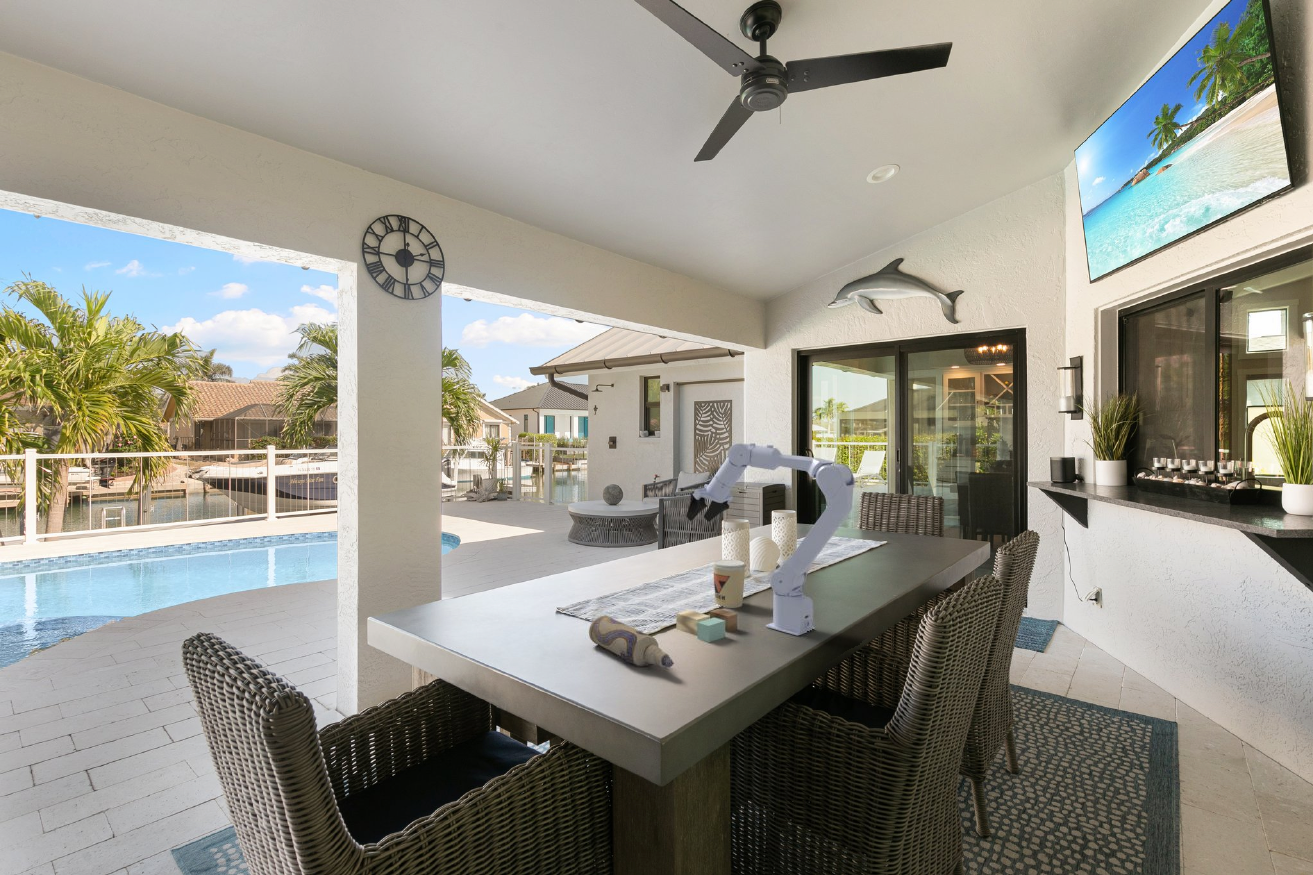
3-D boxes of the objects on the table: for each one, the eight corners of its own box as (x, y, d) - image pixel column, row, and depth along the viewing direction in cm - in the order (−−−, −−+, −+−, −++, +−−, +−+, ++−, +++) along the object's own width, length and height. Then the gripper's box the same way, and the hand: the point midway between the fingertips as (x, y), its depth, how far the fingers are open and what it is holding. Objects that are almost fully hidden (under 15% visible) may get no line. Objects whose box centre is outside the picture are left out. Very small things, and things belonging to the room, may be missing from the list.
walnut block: (737, 629, 149) (737, 613, 149) (728, 632, 147) (728, 616, 147) (718, 624, 154) (718, 608, 154) (709, 627, 151) (709, 611, 151)
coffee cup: (706, 601, 174) (707, 560, 174) (733, 598, 178) (734, 558, 178) (723, 610, 166) (723, 567, 166) (751, 606, 170) (751, 564, 170)
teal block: (714, 633, 146) (714, 617, 146) (725, 637, 143) (725, 620, 143) (697, 639, 142) (697, 622, 142) (708, 643, 139) (708, 625, 139)
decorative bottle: (586, 646, 136) (586, 617, 136) (614, 640, 140) (614, 612, 141) (654, 684, 115) (655, 649, 115) (684, 675, 120) (685, 642, 120)
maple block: (709, 632, 147) (709, 615, 147) (696, 636, 144) (697, 619, 144) (688, 625, 152) (688, 609, 152) (676, 629, 149) (676, 613, 149)
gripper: (731, 474, 169) (706, 510, 173) (698, 469, 159) (672, 508, 163) (746, 490, 165) (720, 527, 169) (713, 486, 154) (686, 525, 159)
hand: (697, 518), depth 166 cm, fingers open, 7 cm apart
